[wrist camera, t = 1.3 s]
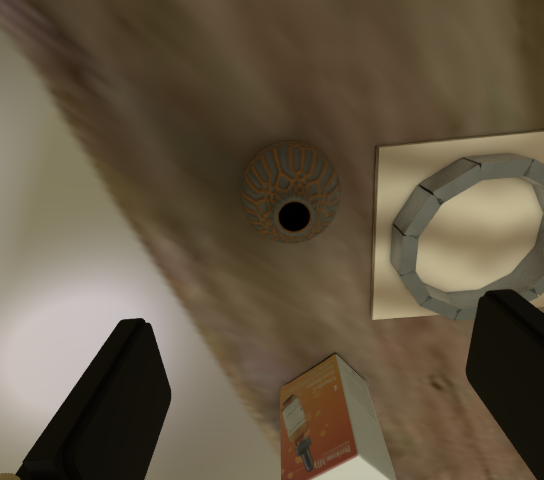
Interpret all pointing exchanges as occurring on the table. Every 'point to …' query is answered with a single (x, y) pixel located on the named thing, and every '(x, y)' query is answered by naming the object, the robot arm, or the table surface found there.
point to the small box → (331, 427)
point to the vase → (290, 192)
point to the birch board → (453, 220)
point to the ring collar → (426, 202)
